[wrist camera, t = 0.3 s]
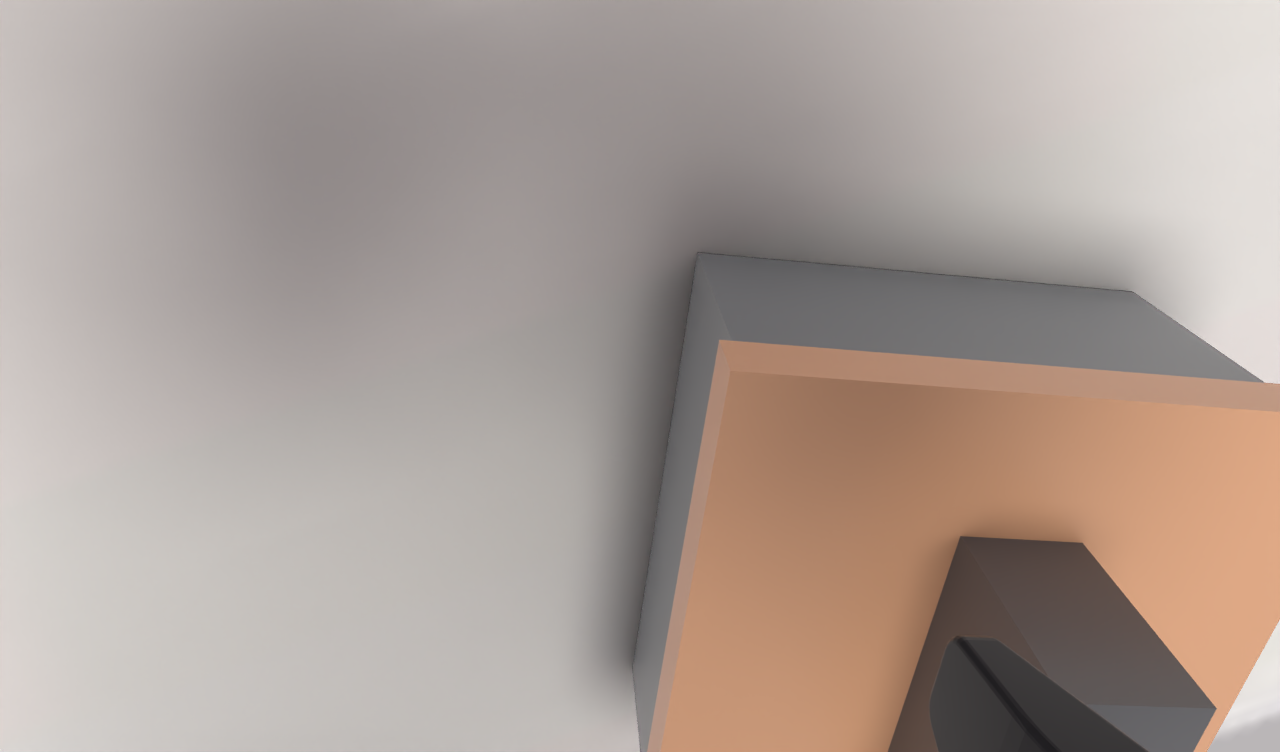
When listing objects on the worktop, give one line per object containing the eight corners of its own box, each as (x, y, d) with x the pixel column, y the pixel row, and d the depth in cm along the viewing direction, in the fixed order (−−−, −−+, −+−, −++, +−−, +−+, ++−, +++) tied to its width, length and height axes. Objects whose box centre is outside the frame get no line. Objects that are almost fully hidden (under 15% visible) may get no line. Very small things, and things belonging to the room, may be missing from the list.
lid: (1072, 835, 25) (1218, 1102, 19) (624, 829, 23) (644, 1117, 18) (1302, 364, 19) (1614, 562, 13) (711, 316, 17) (782, 516, 12)
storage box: (983, 680, 29) (1079, 857, 24) (632, 668, 28) (650, 853, 22) (1133, 292, 23) (1303, 410, 18) (697, 252, 22) (742, 367, 17)
